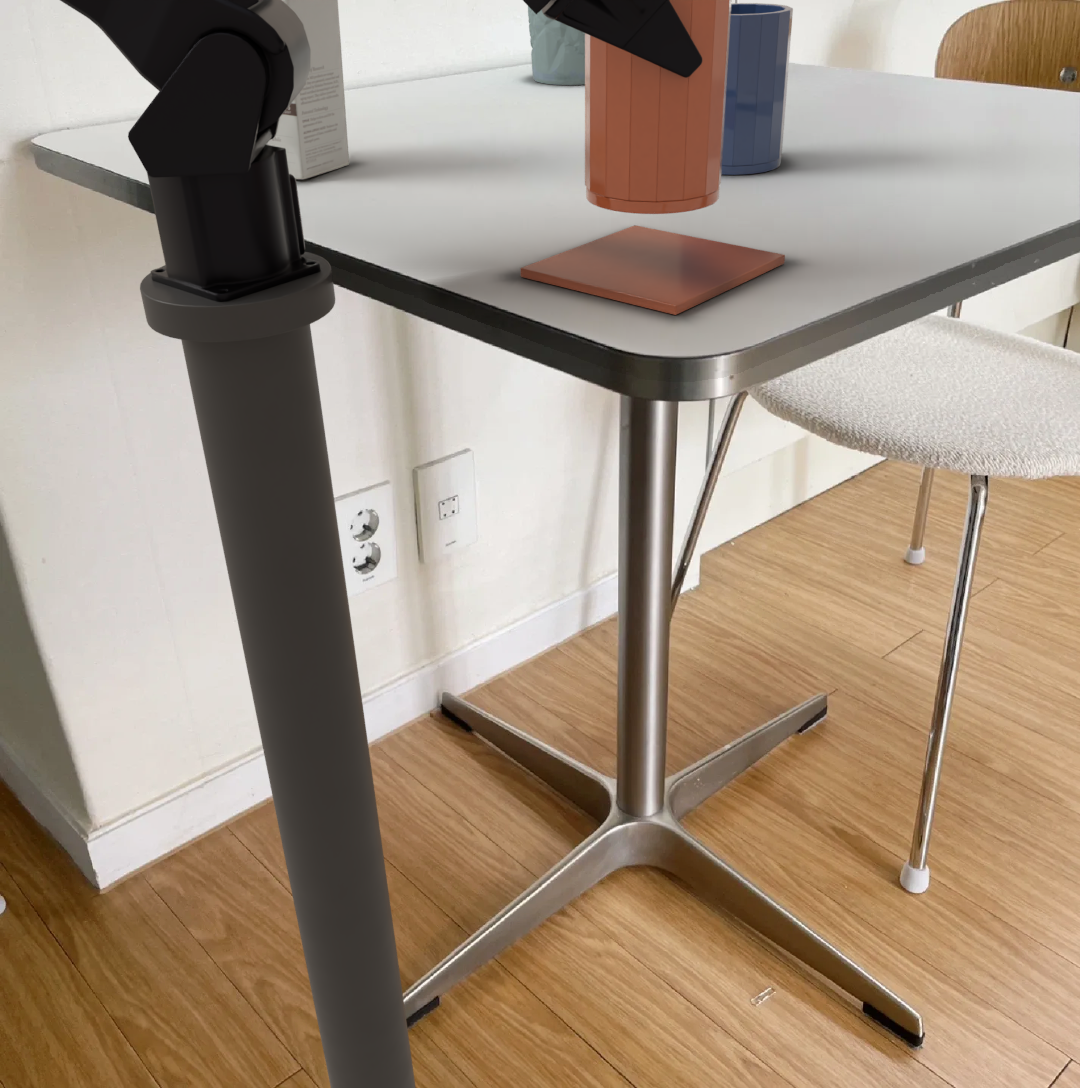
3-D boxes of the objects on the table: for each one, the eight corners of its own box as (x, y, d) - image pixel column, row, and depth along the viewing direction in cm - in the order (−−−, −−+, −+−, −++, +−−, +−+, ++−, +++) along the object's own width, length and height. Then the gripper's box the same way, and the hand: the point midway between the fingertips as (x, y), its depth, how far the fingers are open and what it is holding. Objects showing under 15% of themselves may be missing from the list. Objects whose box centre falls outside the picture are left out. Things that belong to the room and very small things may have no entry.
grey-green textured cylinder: (523, 72, 119) (519, -58, 113) (620, 67, 120) (620, -62, 114) (532, 88, 110) (528, -52, 104) (636, 83, 111) (638, -56, 105)
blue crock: (746, 179, 77) (756, 17, 72) (664, 166, 81) (668, 11, 76) (798, 160, 82) (811, 6, 76) (717, 149, 85) (725, 1, 80)
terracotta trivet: (675, 315, 55) (676, 305, 55) (520, 277, 61) (519, 267, 60) (784, 263, 61) (785, 254, 61) (634, 233, 67) (634, 224, 67)
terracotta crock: (574, 211, 57) (573, -13, 52) (599, 178, 62) (600, -26, 57) (712, 217, 55) (725, -13, 50) (724, 183, 61) (737, -26, 56)
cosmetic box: (216, 172, 84) (177, -57, 76) (269, 155, 88) (237, -64, 81) (308, 182, 80) (277, -58, 73) (359, 164, 85) (334, -64, 77)
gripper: (588, -428, 39) (870, -68, 45) (560, -344, 55) (771, -87, 61) (376, -151, 43) (662, 147, 49) (409, -148, 59) (620, 76, 65)
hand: (684, 58), depth 56 cm, fingers closed on terracotta crock, 7 cm apart
